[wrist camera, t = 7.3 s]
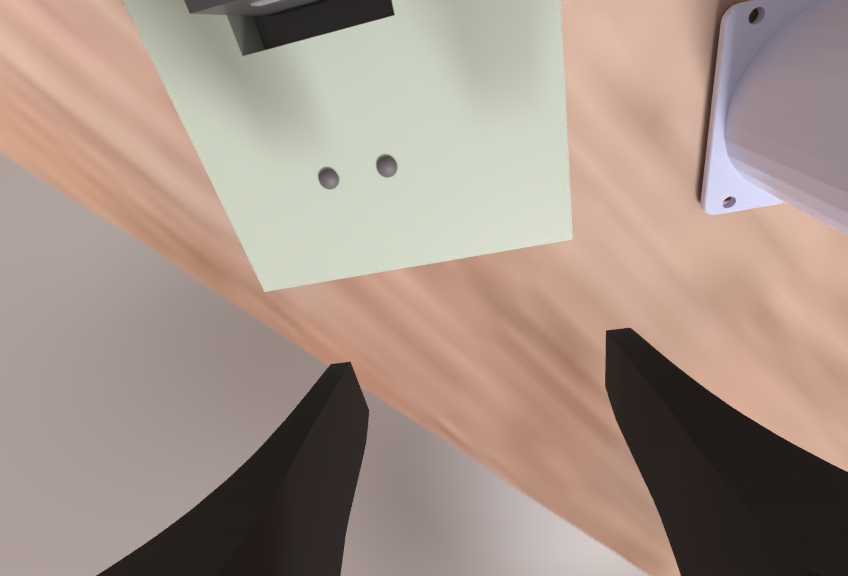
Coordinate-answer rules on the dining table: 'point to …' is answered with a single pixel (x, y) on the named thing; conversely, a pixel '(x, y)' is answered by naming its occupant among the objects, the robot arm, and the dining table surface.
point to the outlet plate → (373, 128)
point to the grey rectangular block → (247, 6)
